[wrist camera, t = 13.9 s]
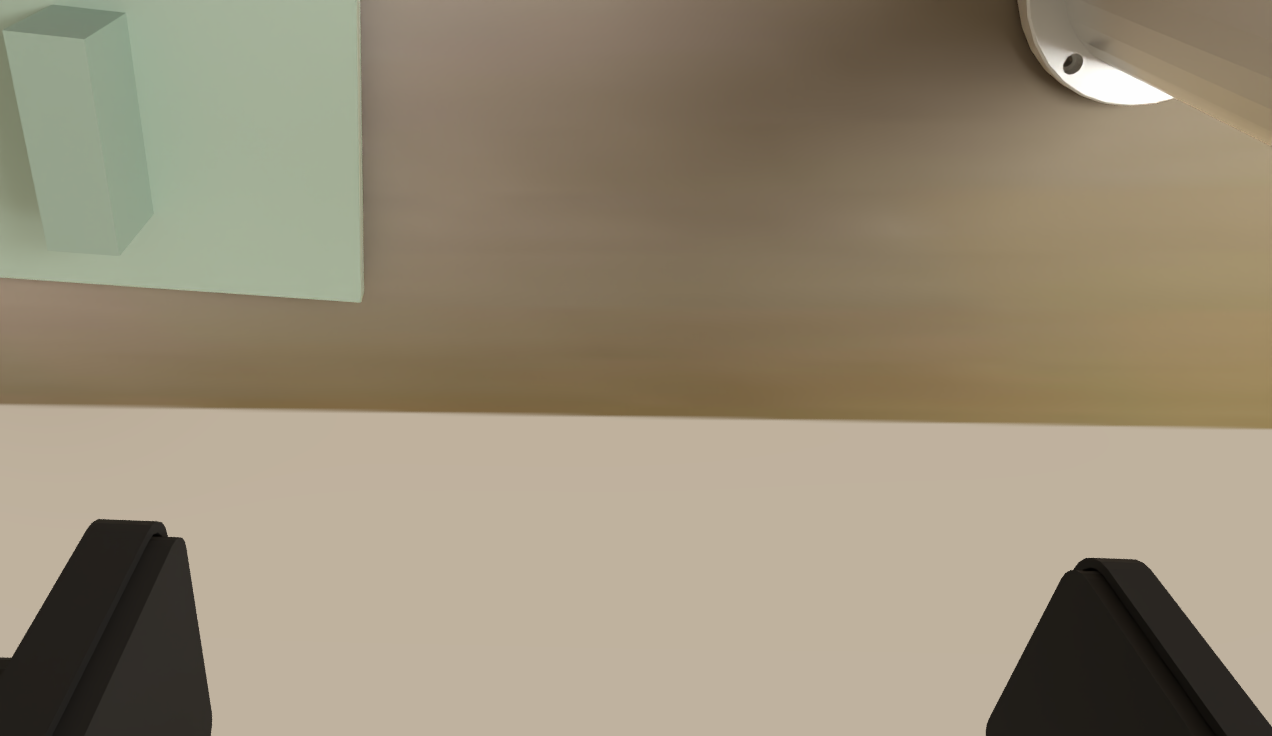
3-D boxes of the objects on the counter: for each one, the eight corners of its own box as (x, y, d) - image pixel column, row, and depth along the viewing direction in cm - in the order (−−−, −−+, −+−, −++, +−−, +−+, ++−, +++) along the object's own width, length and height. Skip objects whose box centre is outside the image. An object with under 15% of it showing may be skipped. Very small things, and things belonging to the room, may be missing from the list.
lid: (363, -68, 36) (338, -40, 31) (367, 280, 44) (347, 349, 39) (-197, -143, 33) (-331, -126, 28) (-85, 246, 41) (-173, 316, 36)
